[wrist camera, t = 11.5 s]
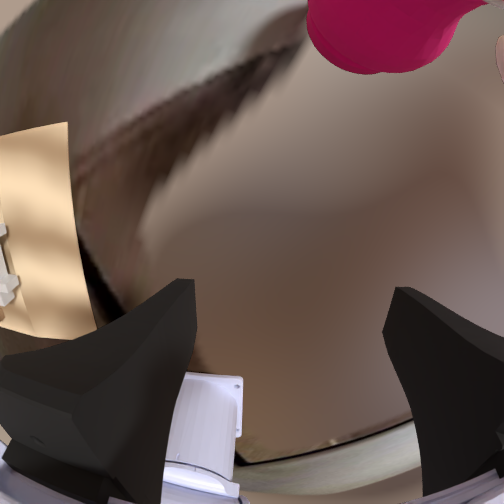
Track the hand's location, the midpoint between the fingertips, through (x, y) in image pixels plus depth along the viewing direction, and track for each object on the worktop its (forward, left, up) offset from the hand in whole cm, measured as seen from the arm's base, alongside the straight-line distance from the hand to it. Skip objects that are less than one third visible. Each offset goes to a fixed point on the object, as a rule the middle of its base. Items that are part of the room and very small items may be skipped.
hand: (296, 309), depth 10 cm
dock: (-2, +24, -10) cm, 26 cm away
